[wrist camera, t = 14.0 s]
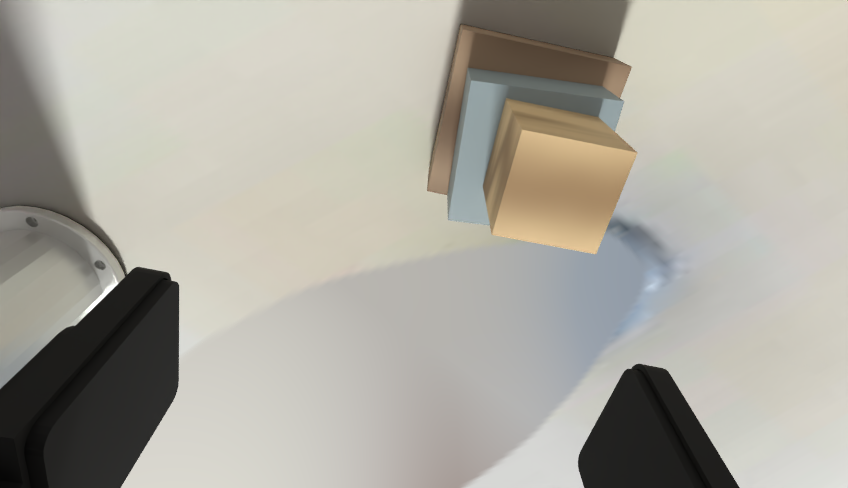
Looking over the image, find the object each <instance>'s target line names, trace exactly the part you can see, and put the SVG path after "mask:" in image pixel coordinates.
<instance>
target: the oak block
mask: <svg viewBox="0 0 848 488" xmlns="http://www.w3.org/2000/svg"><path fill="white" fill-rule="evenodd" d="M636 155H637V152H636V151H635V150H634V149H633V148H632V147H631V146H630V145H629V144H627V143H626V142H625V141H624V140H623V139H622V138H621V137H620V136H619V135H618V134H616V133H615V132H614V131H613V130H612V129H611V128H610V127H609V126H608V125H607V124H606V123H604V122H603V121H602V120H601V119H600V118H599V117H596V116H591V115H586V114H581V113H576V112H571V111H566V110H562V109H557V108H552V107H547V106H542V105H537V104H532V103H527V102H522V101H517V100H513V99H508V98H506V100H505V104H504V108H503V112H502V115H501V119H500V123H499V127H498V130H497V134H496V138H495V142H494V145H493V149H492V153H491V157H490V161H489V164H488V168H487V172H486V176H485V179H484V183H483V191H484V196H485V202H486V207H487V212H488V217H489V223H490V228H491V233H492V235H496V236H501V237H507V238H512V239H517V240H523V241H528V242H533V243H539V244H544V245H549V246H555V247H560V248H565V249H571V250H576V251H582V252H587V253H592V254H596V253H597V250H598V248H599V246H600V243H601V241H602V238H603V236H604V233H605V231H606V229H607V226H608V224H609V221H610V219H611V216H612V214H613V211H614V209H615V207H616V204H617V202H618V199H619V197H620V194H621V192H622V189H623V187H624V185H625V182H626V180H627V177H628V175H629V172H630V170H631V167H632V165H633V163H634V160H635V158H636Z"/></svg>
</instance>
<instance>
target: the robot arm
mask: <svg viewBox="0 0 848 488" xmlns="http://www.w3.org/2000/svg"><path fill="white" fill-rule="evenodd" d="M178 371H179V285H178V283H177V282H175V281H171V277H170V274H169V273H167V272H162V271H157V270H152V269H147V268H142V267H136V268H134V269H133V270H132V271H131V272H130V273H129V274H128V275H127V276H126V277H125V275H124V272H123V270H122V268H121V266H120V264H119V263H118V261H117V259H116V258H115V256H114V255H113V254H112V253H111V251H110V250H109V249H108V247H107V246H106V245H105V244H104V243H103V242H102V241H101V240H100V239H99V238H98V237H97V236H95V235H94V234H93V233H91V232H90V231H89V230H87V229H86V228H85V227H83V226H82V225H80V224H78V223H76V222H75V221H73V220H71V219H69V218H68V217H65V216H63V215H60V214H58V213H55V212H53V211H49V210H45V209H41V208H37V207H29V206H11V207H4V208H1V209H0V488H121V486H122V484H123V483H124V481H125V479H126V478H127V476H128V474H129V472H130V471H131V469H132V468H133V466H134V464H135V463H136V461H137V460H138V458H139V456H140V454H141V453H142V451H143V450H144V448H145V446H146V445H147V443H148V441H149V440H150V438H151V436H152V435H153V433H154V431H155V430H156V428H157V426H158V425H159V423H160V421H161V420H162V418H163V416H164V415H165V413H166V412H167V410H168V408H169V407H170V405H171V403H172V402H173V400H174V398H175V395H176V392H177V388H178V381H179V376H178V375H179V372H178ZM578 467H579V472H580V475H581V478H582V482H583V485H584V488H739V486H738V485H737V483H736V481H735V480H734V478H733V476H732V475H731V473H730V471H729V470H728V468H727V467H726V465H725V463H724V462H723V460H722V458H721V457H720V455H719V454H718V452H717V450H716V449H715V447H714V445H713V444H712V442H711V440H710V439H709V437H708V436H707V434H706V432H705V431H704V429H703V427H702V426H701V424H700V423H699V421H698V419H697V418H696V416H695V414H694V413H693V411H692V409H691V408H690V406H689V405H688V403H687V401H686V400H685V398H684V396H683V395H682V393H681V392H680V390H679V388H678V387H677V385H676V383H675V382H674V380H673V378H672V377H671V375H670V374H669V372H668V371H667V370H665V369H663V368H658V367H653V366H648V365H643V364H636V365H635V366H633V367H632V369H627V370H625V371H624V373H623V374H622V376H621V378H620V380H619V382H618V384H617V385H616V387H615V389H614V391H613V393H612V395H611V396H610V398H609V400H608V402H607V404H606V406H605V407H604V409H603V411H602V413H601V415H600V417H599V418H598V420H597V422H596V424H595V426H594V428H593V429H592V431H591V433H590V435H589V437H588V439H587V440H586V442H585V444H584V446H583V448H582V450H581V452H580V454H579V458H578Z"/></svg>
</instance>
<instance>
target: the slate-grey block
mask: <svg viewBox="0 0 848 488" xmlns="http://www.w3.org/2000/svg"><path fill="white" fill-rule="evenodd" d="M506 98H508V99H513V100H517V101H522V102H527V103H532V104H537V105H542V106H547V107H552V108H557V109H562V110H566V111H571V112H576V113H581V114H586V115H591V116H596V117H599V118H600V119H601V120H602V121H603V122H604V123H606V124H607V125H608V126H609V127H610V128H611V129H612V130H613V131H614V132H615V129H616V126H617V123H618V120H619V116H620V113H621V110H622V107H623V104H624V101H623V100H622V99H620V98H619V97H617V96H616V95H614V94H613V93H612V92H610V91H609V90H607V89H606V88H604V87H603V86H598V85H591V84H583V83H576V82H569V81H562V80H555V79H547V78H540V77H533V76H526V75H518V74H511V73H504V72H497V71H489V70H482V69H475V68H467V75H466V81H465V87H464V93H463V100H462V106H461V112H460V118H459V125H458V131H457V137H456V143H455V149H454V156H453V162H452V168H451V174H450V181H449V187H448V193H447V199H448V220H451V221H459V222H466V223H474V224H482V225H490V223H489V217H488V212H487V207H486V202H485V196H484V191H483V183H484V179H485V176H486V172H487V168H488V164H489V161H490V157H491V153H492V149H493V145H494V142H495V138H496V134H497V130H498V127H499V123H500V119H501V115H502V112H503V108H504V104H505V100H506Z"/></svg>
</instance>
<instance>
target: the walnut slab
mask: <svg viewBox="0 0 848 488" xmlns="http://www.w3.org/2000/svg"><path fill="white" fill-rule="evenodd" d="M467 68H475V69H482V70H489V71H497V72H504V73H511V74H518V75H526V76H533V77H540V78H547V79H555V80H562V81H569V82H576V83H583V84H591V85H598V86H603V87H604V88H606V89H607V90H609V91H610V92H612V93H613V94H614V95H616V96H617V97H619V98H620V97H621V94H622V92H623V89H624V86H625V84H626V81H627V78H628V76H629V73H630V71H631V68H632V67H631V66H629V65H627V64H625V63H623V62H621V61H619V60H617V59H615V58H612V57H608V56H603V55H599V54H594V53H590V52H585V51H580V50H576V49H571V48H567V47H562V46H558V45H553V44H549V43H544V42H540V41H535V40H531V39H526V38H522V37H517V36H513V35H508V34H504V33H499V32H495V31H490V30H486V29H481V28H477V27H472V26H468V25H463V24H461V25H460V29H459V34H458V39H457V43H456V48H455V53H454V57H453V62H452V66H451V71H450V76H449V80H448V85H447V90H446V94H445V99H444V104H443V108H442V113H441V117H440V122H439V127H438V131H437V136H436V141H435V145H434V150H433V154H432V159H431V164H430V168H429V174H428V187H427V191H430V192H435V193H440V194H445V195H447V193H448V187H449V181H450V174H451V168H452V162H453V156H454V149H455V143H456V137H457V131H458V125H459V118H460V112H461V106H462V100H463V93H464V87H465V81H466V75H467Z"/></svg>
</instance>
